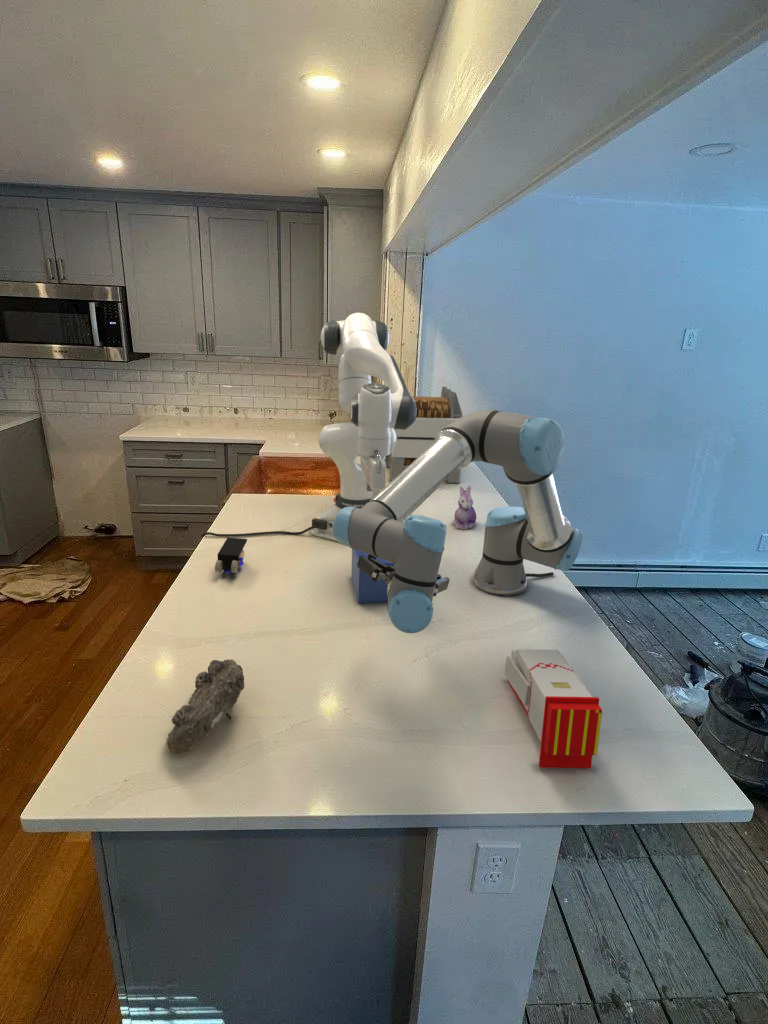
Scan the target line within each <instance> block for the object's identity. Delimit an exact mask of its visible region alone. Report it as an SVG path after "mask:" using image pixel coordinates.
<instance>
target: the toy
mask: <svg viewBox="0 0 768 1024" xmlns="http://www.w3.org/2000/svg"><path fill="white" fill-rule="evenodd" d="M505 659H506V660H505V667H504V676H505V677H506V679H507V682H508V684H509V686H510V688H511V689H512V691H513V693H514V694H515V696H516V698H517V700H518V701H519V703H520V705H521V707H522V708H523V710H524V712H525V714H526V715H527V716H528V719H529V722H530V724H531V725H532V727H533V730H534V731H535V733H536V736H537V738H538V740H539V742H540V750H539V757H538V767H539V768H541V769H543V768H546V769H547V768H548V769H551V768H552V769H591V768H592V762H593V756H597V755H598V749H599V740H600V733H601V732H600V731H601V724H602V714H603V709H602V707H601V705H599V703H600V698H599V697H598V696H593V695H592V694H591V692H590V691H589V689H587V687H586V686H585V684H584V683H583V682H582V680H581V679H580V678H579V676H578V675H577V673H576V672H575V671H574V670H573V668H572V667H571V666H570V664H569V663H568V661H567V660H566V658H565V657H564V655H562V653H561V652H560V651H559V650H558V649H521V648H520V649H519V648H517V649H512V650H511V655H506V658H505Z"/></svg>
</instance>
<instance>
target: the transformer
mask: <svg viewBox="0 0 768 1024" xmlns="http://www.w3.org/2000/svg"><path fill="white" fill-rule="evenodd" d="M440 393H441V394H440V396H415V395H414V396H413V395H412V397H413V398H414V400H415V403H416V409H417V414H416V420H415V422H414V423H413V424H412V425H411V426H410V427H408V428H407V429H405V430H402V429H394V428H393V429H394V431H395V433H396V437H397V442H396V446H395V448H394V450H393V451H392V452H391V453H390V454H389V455H387V456H385V460H384V461H385V464H386V468H387V467H388V468H389V475H388V476H389V477H388V478H389V480H390V482H391V481H392V480H393V479H395V478H396V477H397V476H398V475H399V474H400V473H401V472H402V471H404V469H405V466H406V467H408V466H409V465H410V464H411V463H412V462H414V461H415V460H416V459H417V458H418V457H419V456H420V455H421V454H423V453H424V452H425V451H426V450H427V449H428V448H429V447H430V446H431V445H433V444H434V439H435V437H436V435H437V434H438V433H439V432H440V431H441V430H442V429H444V428H445V427H446V426H448V425H449V424H450V423H452V422H454V421H455V420H457V419H459V418H461V417H463V411H462V408H461V405H460V402H459V398H458V395H457V392H455V391H453V390H452V389H451V388H447V386H442V387H441V392H440ZM461 472H462V468H461V469H457V470H456V471H455V472H454V473H453V474H452V475H451V476H450V477H449V478H448V479H447V480H446V481H445V482H447V483H449V484H455V483H456V484H459V483H461Z"/></svg>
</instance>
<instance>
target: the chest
mask: <svg viewBox="0 0 768 1024" xmlns="http://www.w3.org/2000/svg"><path fill="white" fill-rule="evenodd" d="M357 564H358V561H357V558H356V555H355V552H354V549H351V576H350V577H351V582H352V586H353V589H354V593H355V597H356V600H357V603H358V604H374V603H375V604H377V603H388V592H387V583H386V582H385V581H384V579H380V578H379V580H377V581H373V580H371V577H369V576H368V575H367V574H366V573H365V572H363V571H362V570H361V569H360V568H358V567H357ZM394 567H395V566H394Z"/></svg>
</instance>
